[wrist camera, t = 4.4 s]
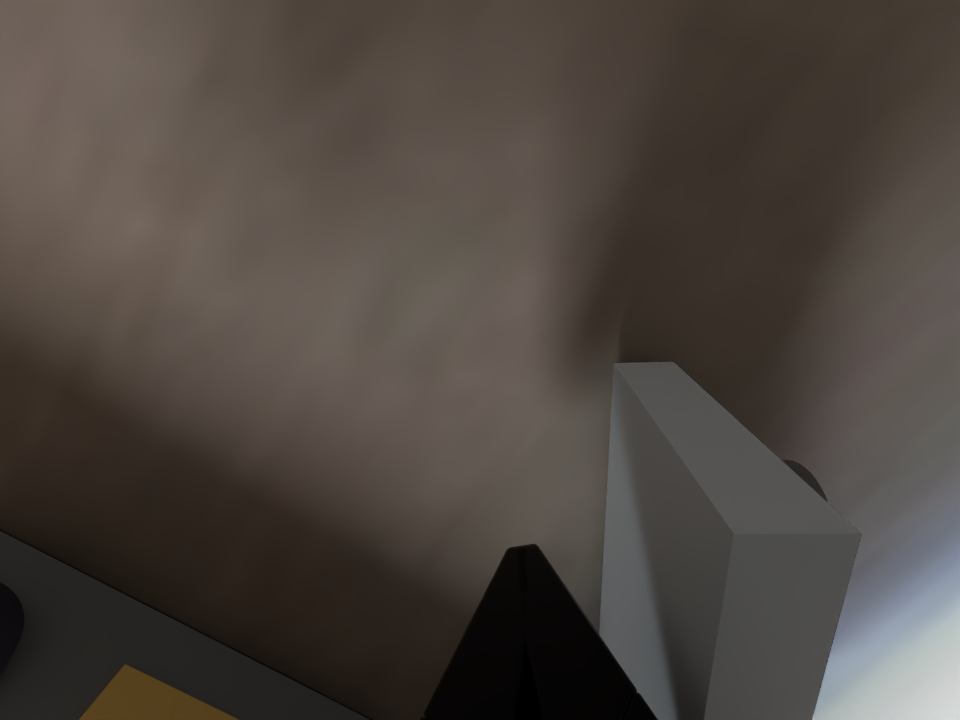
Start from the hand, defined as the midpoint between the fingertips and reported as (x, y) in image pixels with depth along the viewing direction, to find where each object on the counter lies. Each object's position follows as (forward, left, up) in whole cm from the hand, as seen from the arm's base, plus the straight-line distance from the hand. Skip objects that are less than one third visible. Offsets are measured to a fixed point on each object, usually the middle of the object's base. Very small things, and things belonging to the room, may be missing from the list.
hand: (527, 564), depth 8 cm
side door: (-5, +2, -2) cm, 6 cm away
